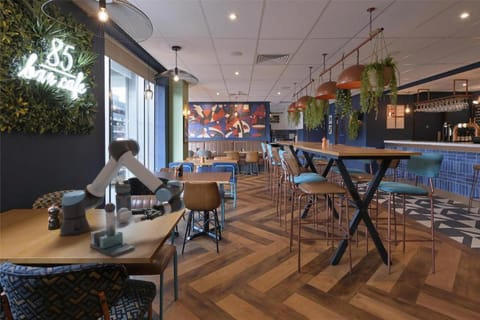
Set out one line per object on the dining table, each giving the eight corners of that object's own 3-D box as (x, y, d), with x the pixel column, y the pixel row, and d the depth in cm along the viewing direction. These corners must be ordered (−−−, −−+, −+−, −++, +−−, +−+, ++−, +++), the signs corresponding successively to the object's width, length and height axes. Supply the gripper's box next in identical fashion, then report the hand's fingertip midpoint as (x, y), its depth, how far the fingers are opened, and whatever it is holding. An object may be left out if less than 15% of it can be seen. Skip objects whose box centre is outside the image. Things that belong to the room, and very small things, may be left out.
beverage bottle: (136, 212, 200) (135, 179, 198) (123, 217, 188) (121, 182, 186) (126, 211, 204) (124, 178, 202) (112, 215, 191) (110, 181, 189)
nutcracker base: (90, 246, 136) (89, 232, 135) (111, 240, 145) (110, 226, 144) (112, 257, 123) (111, 241, 122) (134, 249, 132) (133, 234, 131)
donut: (119, 225, 170) (119, 209, 169) (115, 224, 171) (114, 209, 170) (131, 220, 179) (130, 206, 178) (127, 220, 180) (126, 205, 179)
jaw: (99, 246, 131) (96, 204, 129) (118, 240, 139) (116, 200, 137) (104, 249, 128) (102, 205, 126) (123, 242, 136) (122, 201, 134)
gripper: (175, 219, 149) (141, 229, 132) (148, 212, 164) (115, 221, 147) (174, 206, 149) (140, 215, 132) (148, 200, 164) (114, 207, 147)
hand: (127, 218), depth 140 cm, fingers open, 13 cm apart
